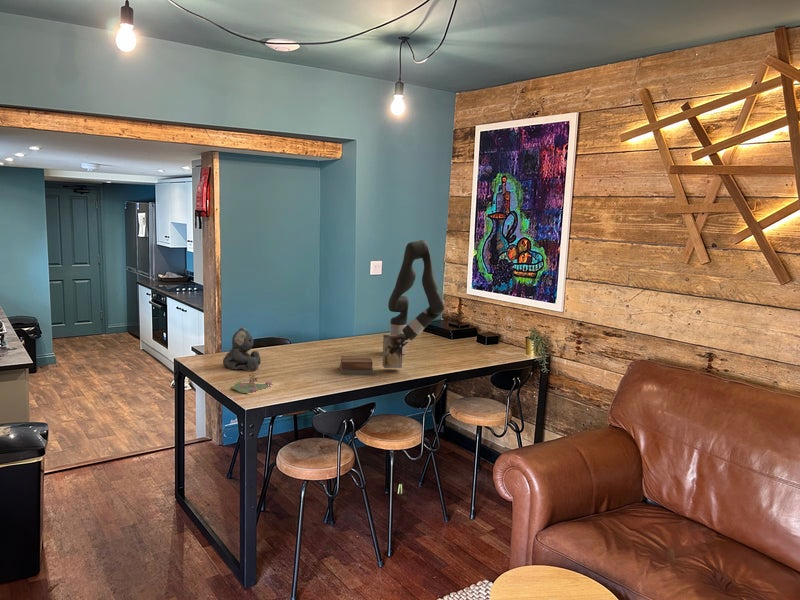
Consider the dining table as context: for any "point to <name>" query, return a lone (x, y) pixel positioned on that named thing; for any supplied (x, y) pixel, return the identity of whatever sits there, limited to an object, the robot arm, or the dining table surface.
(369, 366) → the walnut brick
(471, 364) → the dining table surface
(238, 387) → the plant
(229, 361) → the koala plush
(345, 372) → the baseplate
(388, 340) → the coffee box
